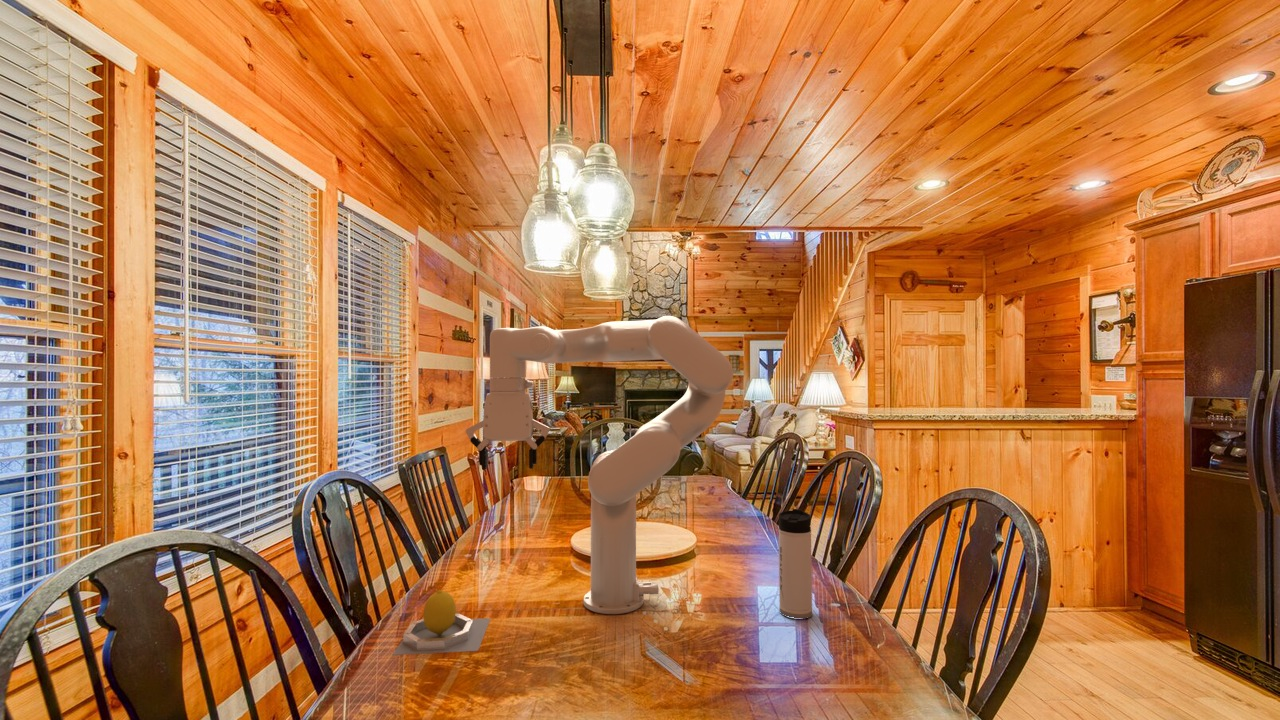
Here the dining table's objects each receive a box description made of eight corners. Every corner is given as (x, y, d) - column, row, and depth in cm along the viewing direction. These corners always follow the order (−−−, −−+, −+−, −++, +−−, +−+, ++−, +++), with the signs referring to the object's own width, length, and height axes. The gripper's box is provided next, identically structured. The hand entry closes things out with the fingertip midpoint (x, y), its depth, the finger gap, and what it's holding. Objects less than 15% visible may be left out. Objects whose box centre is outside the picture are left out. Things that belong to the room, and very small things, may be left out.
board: (490, 623, 109) (490, 618, 109) (477, 656, 96) (477, 650, 96) (415, 626, 107) (415, 621, 107) (392, 660, 94) (392, 654, 94)
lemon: (445, 643, 98) (445, 597, 98) (416, 640, 99) (417, 594, 100) (461, 629, 104) (461, 585, 104) (434, 627, 105) (434, 583, 105)
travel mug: (814, 609, 115) (813, 510, 115) (809, 622, 109) (808, 517, 109) (783, 604, 117) (782, 507, 118) (776, 616, 111) (775, 514, 112)
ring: (476, 620, 107) (476, 612, 107) (464, 648, 96) (464, 639, 96) (416, 623, 106) (416, 615, 106) (397, 651, 95) (397, 642, 95)
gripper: (550, 386, 124) (550, 464, 124) (469, 387, 122) (469, 466, 122) (548, 386, 117) (548, 470, 116) (462, 387, 115) (462, 472, 114)
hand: (508, 468), depth 119 cm, fingers open, 9 cm apart
